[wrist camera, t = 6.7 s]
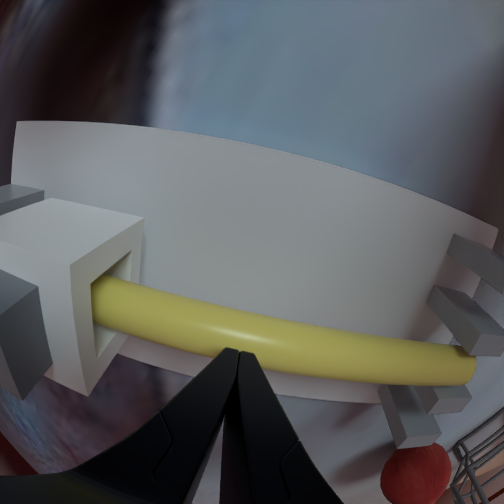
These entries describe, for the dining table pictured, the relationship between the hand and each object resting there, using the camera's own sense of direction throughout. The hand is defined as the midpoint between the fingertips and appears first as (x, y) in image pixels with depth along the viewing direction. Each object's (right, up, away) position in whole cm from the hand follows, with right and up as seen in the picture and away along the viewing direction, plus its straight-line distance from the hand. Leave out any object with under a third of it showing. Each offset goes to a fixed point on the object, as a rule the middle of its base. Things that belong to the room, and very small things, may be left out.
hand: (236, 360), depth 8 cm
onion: (+13, -13, +10) cm, 21 cm away
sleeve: (-7, +3, +4) cm, 8 cm away
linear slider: (-1, +2, +6) cm, 6 cm away
